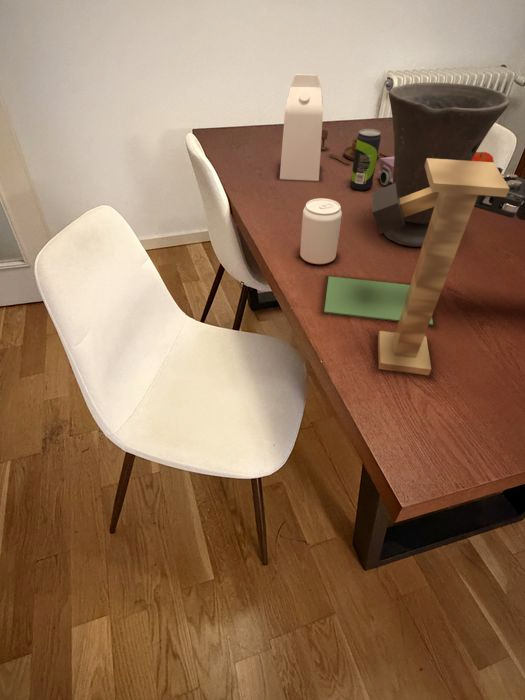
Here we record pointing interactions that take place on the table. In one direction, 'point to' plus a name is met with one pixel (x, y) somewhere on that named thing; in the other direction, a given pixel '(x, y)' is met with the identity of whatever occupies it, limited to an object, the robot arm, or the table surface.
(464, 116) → the vase
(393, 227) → the mallet
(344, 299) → the felt mat
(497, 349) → the table surface
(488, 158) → the apple
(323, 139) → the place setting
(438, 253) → the stand
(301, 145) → the milk
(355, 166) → the beverage can
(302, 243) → the beverage can
